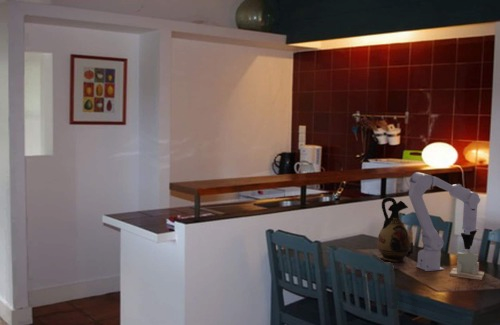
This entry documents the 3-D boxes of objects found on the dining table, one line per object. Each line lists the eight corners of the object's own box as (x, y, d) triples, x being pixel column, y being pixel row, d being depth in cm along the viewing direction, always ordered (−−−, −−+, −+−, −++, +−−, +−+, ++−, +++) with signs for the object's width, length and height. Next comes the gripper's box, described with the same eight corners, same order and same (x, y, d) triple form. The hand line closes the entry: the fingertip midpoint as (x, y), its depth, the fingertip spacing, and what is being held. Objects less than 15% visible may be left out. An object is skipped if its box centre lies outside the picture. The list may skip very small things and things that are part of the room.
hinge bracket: (481, 279, 246) (482, 268, 246) (449, 275, 252) (450, 264, 252) (484, 274, 255) (484, 262, 255) (453, 270, 261) (453, 259, 261)
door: (476, 273, 252) (477, 255, 251) (456, 271, 256) (457, 253, 255) (477, 271, 255) (478, 253, 254) (457, 269, 259) (458, 251, 258)
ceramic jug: (406, 256, 285) (409, 195, 283) (412, 264, 270) (415, 200, 267) (371, 254, 287) (373, 194, 284) (375, 262, 272) (377, 199, 269)
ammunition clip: (393, 253, 291) (394, 229, 290) (391, 252, 293) (392, 228, 292) (413, 252, 293) (414, 229, 292) (411, 251, 295) (412, 228, 294)
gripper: (477, 221, 255) (475, 251, 257) (480, 216, 268) (479, 245, 269) (460, 219, 259) (459, 249, 260) (464, 214, 271) (463, 243, 273)
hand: (468, 247), depth 265 cm, fingers open, 7 cm apart
